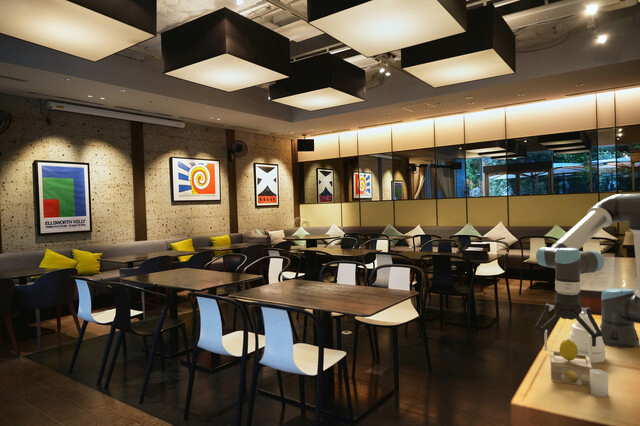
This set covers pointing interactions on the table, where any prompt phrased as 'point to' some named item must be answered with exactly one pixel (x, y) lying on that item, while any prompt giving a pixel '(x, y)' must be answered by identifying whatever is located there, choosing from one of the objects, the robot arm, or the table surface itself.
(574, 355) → the lemon
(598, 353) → the honey pot
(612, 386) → the table surface
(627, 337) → the robot arm
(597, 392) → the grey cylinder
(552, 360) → the wooden crate
